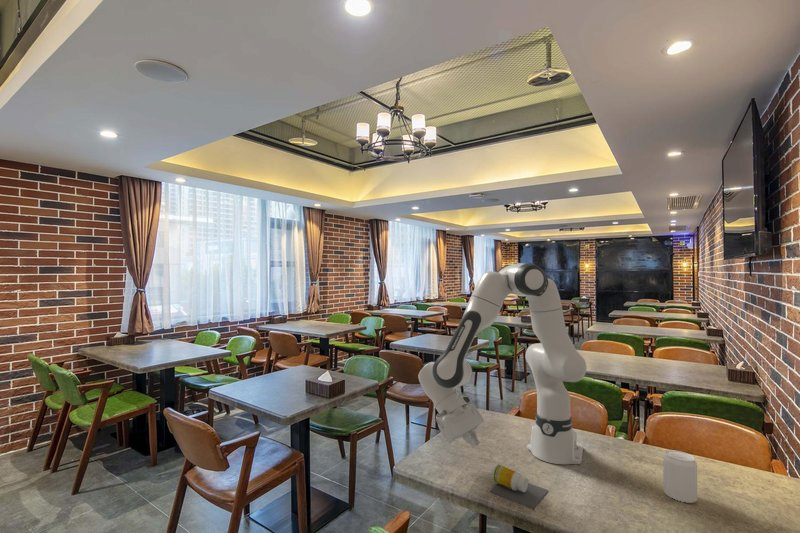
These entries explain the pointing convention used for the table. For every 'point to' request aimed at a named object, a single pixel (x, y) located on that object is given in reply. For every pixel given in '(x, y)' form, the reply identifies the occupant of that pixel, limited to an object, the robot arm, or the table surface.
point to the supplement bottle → (509, 478)
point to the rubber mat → (521, 494)
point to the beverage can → (680, 476)
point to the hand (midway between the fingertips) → (476, 445)
